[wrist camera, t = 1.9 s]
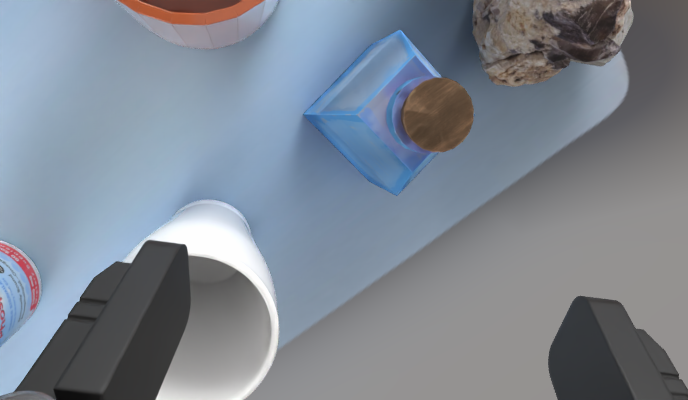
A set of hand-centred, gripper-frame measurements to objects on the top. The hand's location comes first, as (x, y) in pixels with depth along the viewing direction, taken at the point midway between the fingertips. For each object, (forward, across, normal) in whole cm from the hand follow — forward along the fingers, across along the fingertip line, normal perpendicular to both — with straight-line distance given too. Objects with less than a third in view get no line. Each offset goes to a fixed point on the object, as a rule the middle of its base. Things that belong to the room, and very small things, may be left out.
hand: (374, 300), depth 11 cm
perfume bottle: (+24, 0, +6) cm, 24 cm away
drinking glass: (+18, +9, +14) cm, 24 cm away
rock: (+27, -13, +3) cm, 30 cm away
